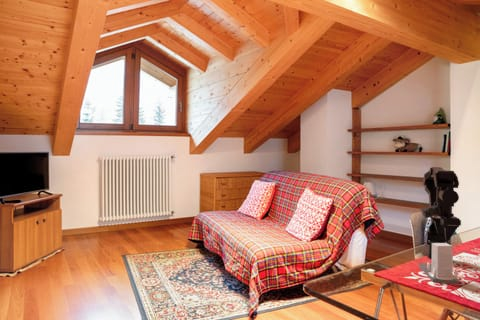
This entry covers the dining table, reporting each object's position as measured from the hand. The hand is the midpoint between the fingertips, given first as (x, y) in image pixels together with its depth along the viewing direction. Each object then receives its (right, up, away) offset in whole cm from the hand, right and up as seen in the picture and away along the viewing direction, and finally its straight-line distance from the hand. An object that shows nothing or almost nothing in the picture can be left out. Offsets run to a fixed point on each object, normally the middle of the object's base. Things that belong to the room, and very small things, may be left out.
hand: (443, 237), depth 142 cm
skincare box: (-7, -12, -10) cm, 18 cm away
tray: (-6, -13, -6) cm, 16 cm away
